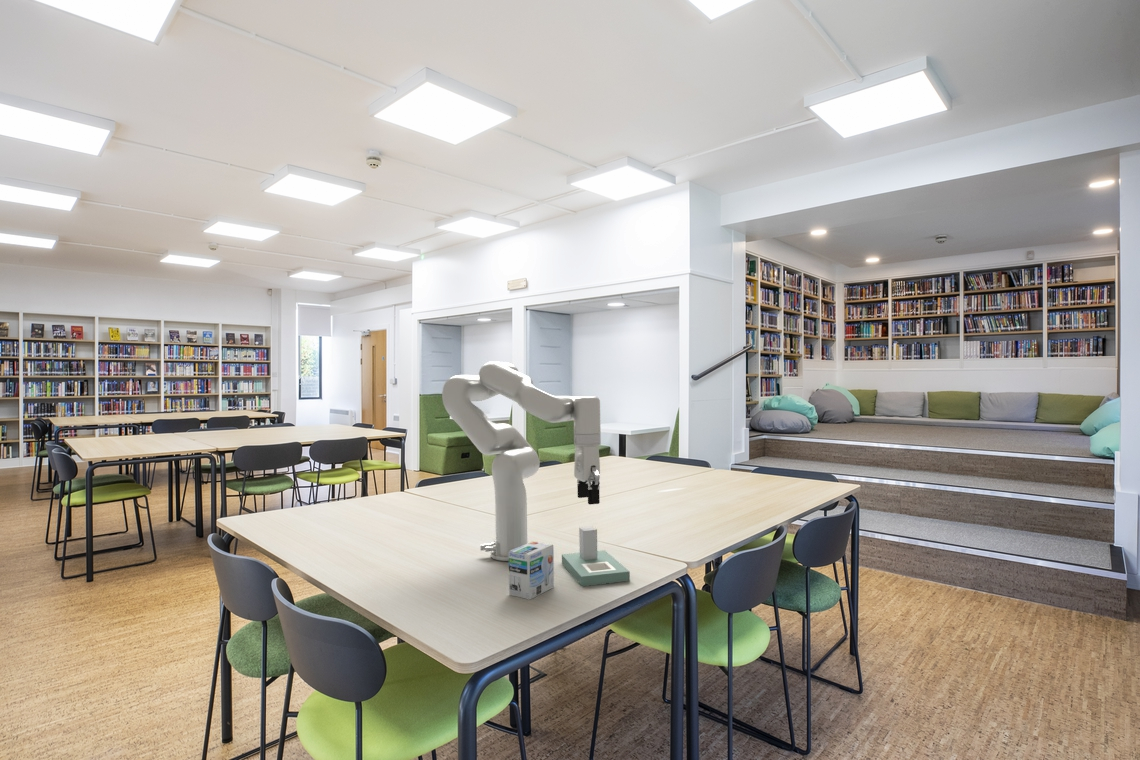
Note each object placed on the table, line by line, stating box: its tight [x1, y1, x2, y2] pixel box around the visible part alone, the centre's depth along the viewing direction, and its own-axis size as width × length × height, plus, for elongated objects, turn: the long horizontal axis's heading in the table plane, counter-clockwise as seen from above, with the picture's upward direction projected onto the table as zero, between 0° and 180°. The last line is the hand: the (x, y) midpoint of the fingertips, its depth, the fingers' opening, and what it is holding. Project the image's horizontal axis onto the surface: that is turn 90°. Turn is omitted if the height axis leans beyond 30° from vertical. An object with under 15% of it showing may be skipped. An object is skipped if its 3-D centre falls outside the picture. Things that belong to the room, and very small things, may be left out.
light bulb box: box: [508, 540, 555, 601], centre depth 139 cm, size 11×7×11 cm, turn 148°
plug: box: [578, 526, 598, 560], centre depth 158 cm, size 4×4×8 cm
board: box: [561, 549, 631, 587], centre depth 153 cm, size 13×20×2 cm, turn 15°
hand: (588, 500), depth 158 cm, fingers open, 9 cm apart
